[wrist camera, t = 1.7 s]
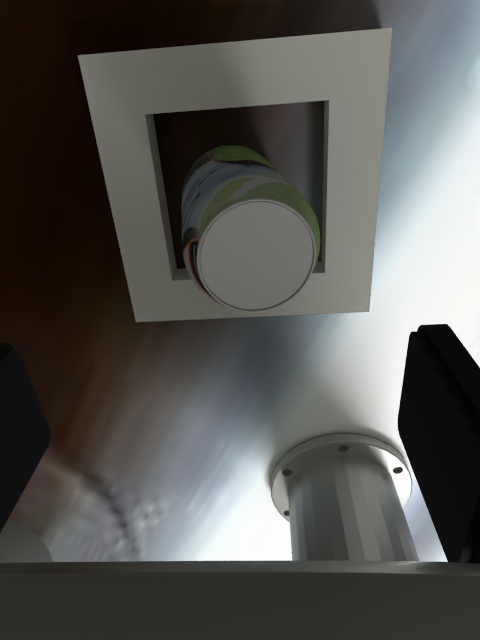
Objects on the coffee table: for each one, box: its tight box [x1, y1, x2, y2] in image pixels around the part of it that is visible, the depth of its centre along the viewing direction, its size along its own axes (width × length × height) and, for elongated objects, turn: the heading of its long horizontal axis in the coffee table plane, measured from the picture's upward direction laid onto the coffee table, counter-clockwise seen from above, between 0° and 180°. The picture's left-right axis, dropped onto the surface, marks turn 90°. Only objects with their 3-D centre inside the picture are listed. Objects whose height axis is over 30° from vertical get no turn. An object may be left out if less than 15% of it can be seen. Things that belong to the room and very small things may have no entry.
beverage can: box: [182, 145, 320, 313], centre depth 23 cm, size 6×7×12 cm
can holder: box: [78, 28, 392, 322], centre depth 27 cm, size 16×16×2 cm
